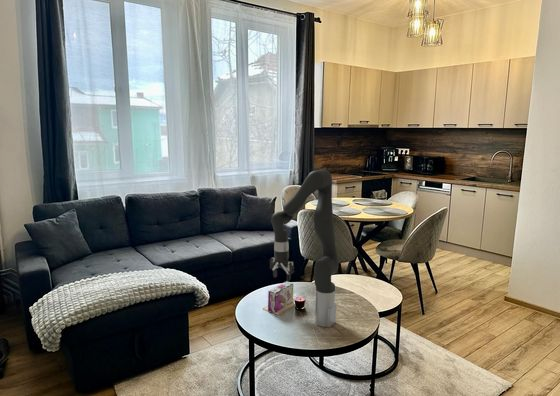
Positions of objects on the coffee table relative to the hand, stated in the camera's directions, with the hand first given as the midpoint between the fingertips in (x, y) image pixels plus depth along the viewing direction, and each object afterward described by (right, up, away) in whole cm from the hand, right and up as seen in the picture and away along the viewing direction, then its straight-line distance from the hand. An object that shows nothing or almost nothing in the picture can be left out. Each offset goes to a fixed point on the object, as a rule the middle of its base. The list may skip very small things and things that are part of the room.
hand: (281, 278), depth 201 cm
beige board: (0, -15, +4) cm, 16 cm away
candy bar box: (-5, -11, -6) cm, 14 cm away
